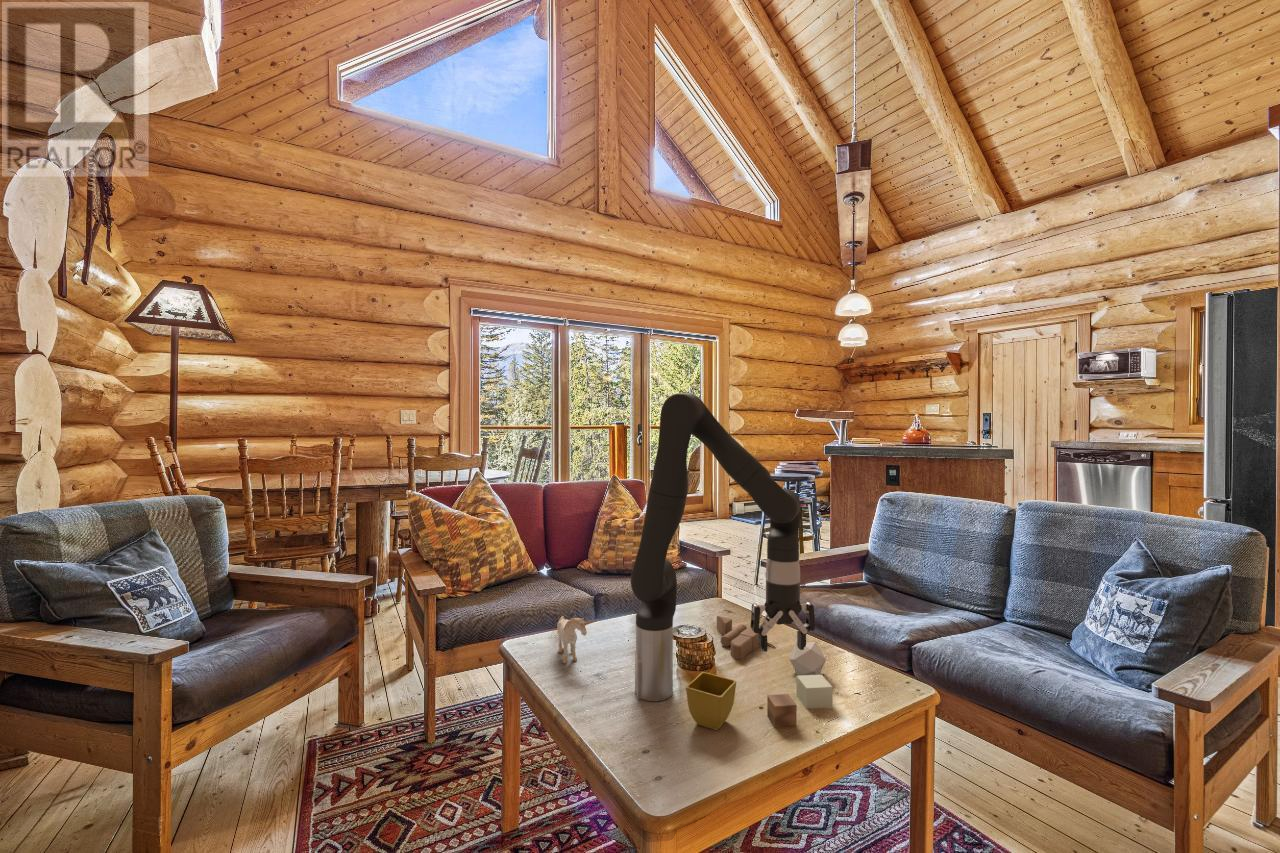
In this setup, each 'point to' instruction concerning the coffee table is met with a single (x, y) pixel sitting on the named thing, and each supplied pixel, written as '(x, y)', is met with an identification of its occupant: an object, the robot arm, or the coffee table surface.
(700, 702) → the flower pot
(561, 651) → the unicorn figurine
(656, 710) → the coffee table surface
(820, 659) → the die
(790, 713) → the walnut block
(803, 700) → the sage block
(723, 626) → the wooden block set
